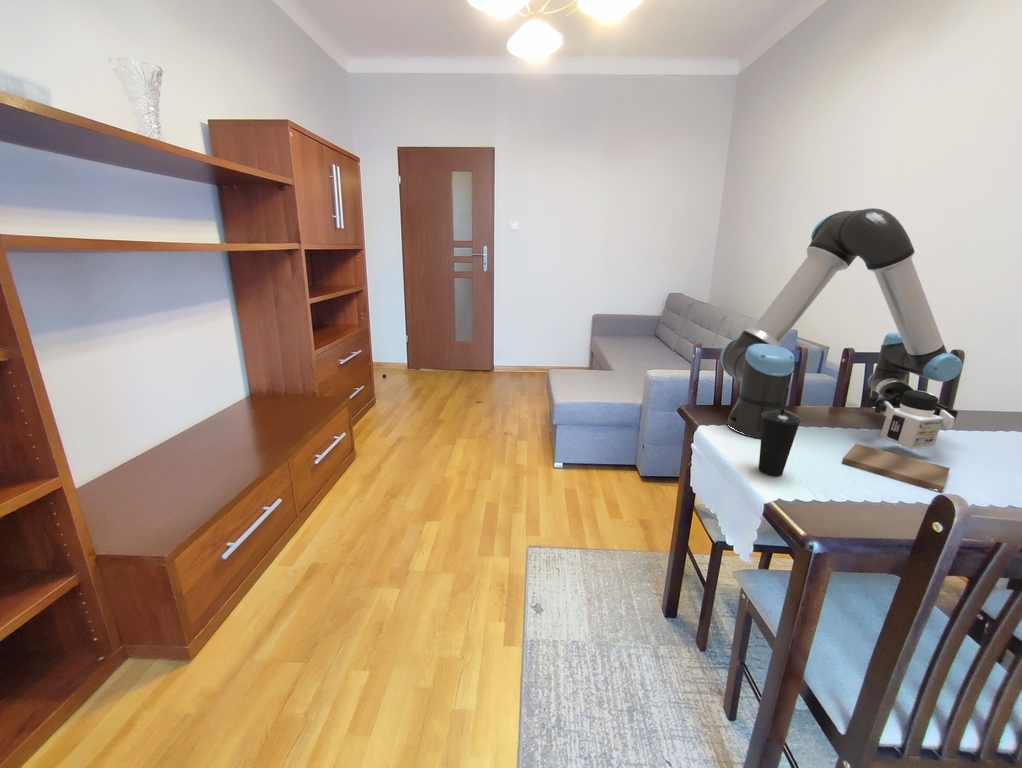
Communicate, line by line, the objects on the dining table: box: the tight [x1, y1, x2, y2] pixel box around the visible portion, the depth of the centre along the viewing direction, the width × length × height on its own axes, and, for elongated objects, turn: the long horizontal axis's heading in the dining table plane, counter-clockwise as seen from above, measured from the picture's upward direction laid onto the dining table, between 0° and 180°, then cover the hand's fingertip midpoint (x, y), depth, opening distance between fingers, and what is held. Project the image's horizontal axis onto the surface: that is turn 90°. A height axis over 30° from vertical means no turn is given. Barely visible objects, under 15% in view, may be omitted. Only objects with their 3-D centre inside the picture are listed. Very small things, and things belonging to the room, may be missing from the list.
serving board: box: [841, 443, 951, 494], centre depth 108 cm, size 18×13×2 cm
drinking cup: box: [758, 387, 802, 478], centre depth 102 cm, size 8×8×20 cm
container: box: [880, 389, 943, 449], centre depth 113 cm, size 8×8×13 cm
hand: (920, 418), depth 109 cm, fingers closed on container, 10 cm apart
